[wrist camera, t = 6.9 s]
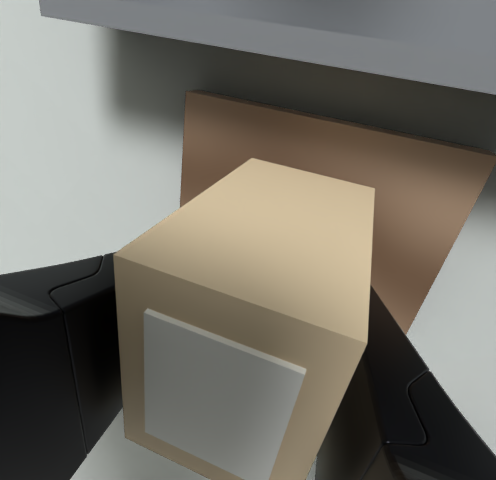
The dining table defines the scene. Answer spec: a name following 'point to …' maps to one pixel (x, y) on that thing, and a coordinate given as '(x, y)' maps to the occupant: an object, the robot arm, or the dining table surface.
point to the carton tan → (245, 321)
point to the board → (349, 180)
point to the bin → (322, 32)
